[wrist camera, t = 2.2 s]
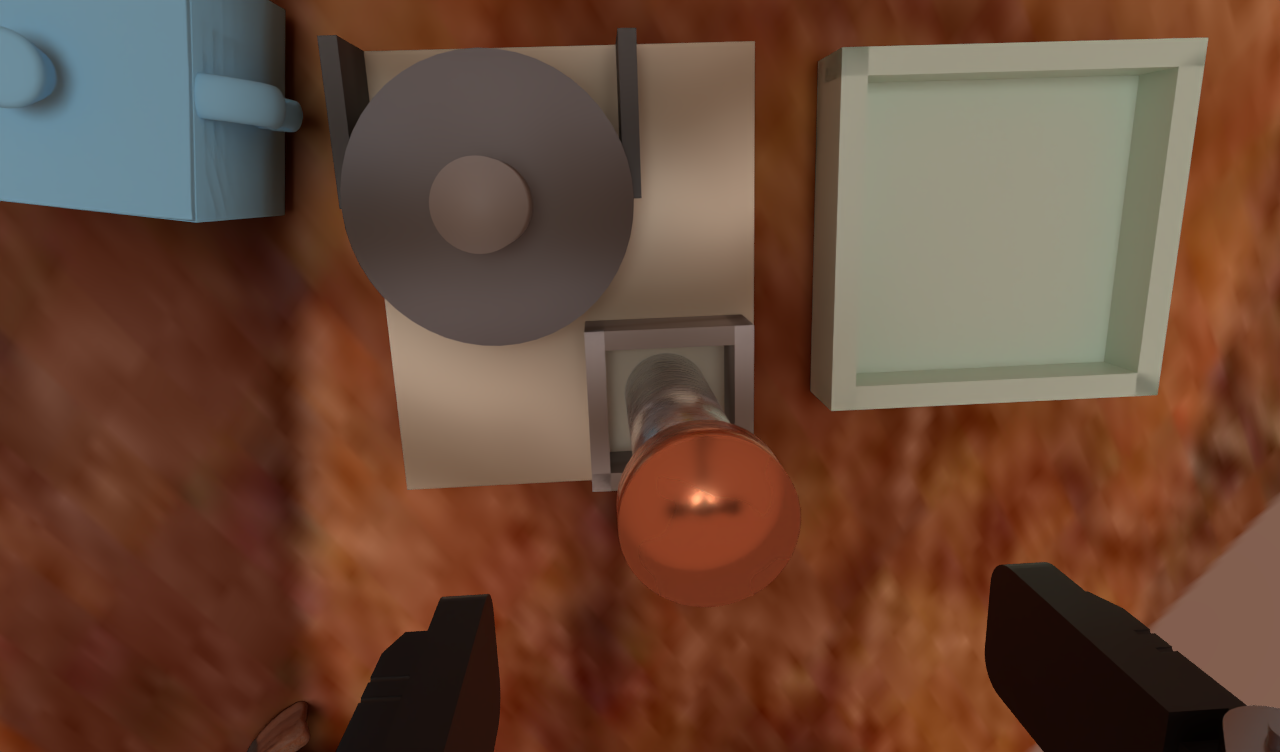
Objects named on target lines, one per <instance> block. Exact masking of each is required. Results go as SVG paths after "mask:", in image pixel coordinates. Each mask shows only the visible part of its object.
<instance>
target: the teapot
mask: <svg viewBox="0 0 1280 752" xmlns="http://www.w3.org/2000/svg"><path fill="white" fill-rule="evenodd" d="M302 120H303V111H302V108H301V106H300V104H299V103H298V102H297V101H294V100H290V99H286V98H285V9H283V8H281V7H279V6H278V5H276V4H274V3H272V2H271V1H269V0H0V201H8V202H17V203H26V204H35V205H44V206H53V207H62V208H71V209H80V210H89V211H98V212H107V213H116V214H125V215H133V216H142V217H151V218H160V219H169V220H178V221H187V222H196V223H198V222H210V221H222V220H233V219H245V218H257V217H269V216H281V215H285V132H296V131H297V130H298V129H299V128H300V127H301V124H302Z"/></svg>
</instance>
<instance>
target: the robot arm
mask: <svg viewBox="0 0 1280 752" xmlns="http://www.w3.org/2000/svg"><path fill="white" fill-rule="evenodd" d="M985 662H986V668H987V672H988V675H989V678H990V681H991V683H992V686H993V688H994V689H995V691H996V693H997V694H998V695H999V697H1000V698H1001V699H1002V700H1003V702H1004V703H1005V704H1006V705H1007V707H1008V708H1009V709H1010V710H1011V712H1012V713H1013V714H1014V715H1015V717H1016V718H1017V719H1018V720H1019V722H1020V723H1021V724H1022V725H1023V727H1024V728H1025V729H1026V730H1027V732H1028V733H1029V734H1030V735H1031V737H1032V738H1033V739H1034V740H1035V742H1036V743H1037V744H1038V745H1039V747H1040V748H1041V749H1042V750H1043V751H1044V752H1280V709H1279V708H1274V707H1267V706H1255V705H1253V706H1247V705H1245V704H1244V703H1243V702H1242V701H1240V700H1239V699H1238V698H1237V697H1235V696H1234V695H1233V694H1232V693H1230V692H1229V691H1228V690H1226V689H1225V688H1224V687H1223V686H1221V685H1220V684H1219V683H1217V682H1216V681H1215V680H1214V679H1212V678H1211V677H1210V676H1208V675H1207V674H1206V673H1204V672H1203V671H1202V670H1201V669H1200V668H1198V667H1197V666H1196V665H1195V664H1193V663H1192V662H1191V661H1189V660H1188V659H1187V658H1186V657H1184V656H1183V655H1182V654H1181V653H1179V652H1178V651H1173V650H1172V646H1170V645H1169V644H1168V643H1167V642H1165V641H1164V640H1163V639H1161V638H1160V637H1159V636H1158V635H1156V634H1155V633H1154V634H1151V633H1150V629H1149V628H1147V627H1146V626H1145V625H1144V624H1142V623H1141V622H1140V621H1139V620H1137V619H1136V618H1135V617H1133V616H1132V615H1131V614H1130V613H1128V612H1127V611H1126V610H1125V609H1123V608H1121V607H1119V606H1117V605H1115V604H1113V603H1111V602H1109V601H1107V600H1104V599H1102V598H1100V597H1098V596H1096V595H1094V594H1092V593H1090V592H1088V591H1087V592H1086V591H1084V590H1083V589H1082V588H1081V587H1079V586H1078V585H1077V584H1076V583H1074V582H1073V581H1072V580H1071V579H1069V578H1068V577H1067V576H1066V575H1065V574H1063V573H1062V572H1061V571H1060V570H1058V569H1057V568H1056V567H1055V566H1053V565H1052V564H1050V563H1047V562H1040V563H1023V564H1006V565H999V566H997V567H996V568H995V569H994V571H993V573H992V577H991V585H990V596H989V608H988V619H987V631H986V642H985ZM499 715H500V678H499V667H498V656H497V645H496V634H495V623H494V612H493V604H492V599H491V596H490V595H489V594H483V595H466V596H449V597H442V598H441V599H440V601H439V603H438V606H437V608H436V611H435V613H434V616H433V618H432V621H431V623H430V626H429V629H428V631H416V632H405V633H404V634H403V635H402V636H401V637H400V638H399V639H397V640H396V641H395V642H394V643H393V644H392V645H391V646H390V647H389V648H388V649H386V650H385V651H384V652H383V653H382V655H381V657H380V659H379V661H378V663H377V665H376V667H375V669H374V672H373V674H372V676H371V681H370V683H368V684H367V686H366V689H365V691H364V693H363V695H362V697H361V703H358V706H357V708H356V710H355V712H354V714H353V716H352V718H351V720H350V723H349V725H348V727H347V729H346V731H345V733H344V735H343V737H342V740H341V742H340V744H339V746H338V748H337V750H336V752H494V746H495V741H496V736H497V730H498V725H499Z"/></svg>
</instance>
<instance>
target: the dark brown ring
mask: <svg viewBox="0 0 1280 752" xmlns="http://www.w3.org/2000/svg"><path fill="white" fill-rule="evenodd" d="M307 708H308V706H307V703H306V702H305V701H300V702H297V703H295V704H294V705H292V706H291V707H289V708H287V709H286V710H284V711H283V712H281V713H280V714H279V715H278V716H277V717H276V718H275V719H273V720H272V721H271V722H270V723H269V724H268V725H267V726H266V727H265V728H264V729H263V731H261V733H260V734H259V735H258V737H257V738H256V739H255V740H254V741H253V742H252V744H251V745H250V747H249V749H248V751H247V752H296V751H298V750H299V749H300V748H302V747H303V746H305V745H306V744H307V743H308V742H309V740H310V733H309V728H308V725H307V723H306V718H307Z"/></svg>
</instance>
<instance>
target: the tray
mask: <svg viewBox="0 0 1280 752" xmlns="http://www.w3.org/2000/svg"><path fill="white" fill-rule="evenodd" d="M1207 44H1208V38H1173V39H1136V40H1098V41H1060V42H1023V43H985V44H948V45H910V46H872V47H842V48H840V49H839V50H837V51H835V52H833V53H832V54H830V55H828V56H827V57H825V58H823V59H821V60H820V61H818V82H817V125H816V168H815V210H814V253H813V296H812V339H811V381H810V391H811V392H812V393H813V394H814V395H815V396H816V397H817V398H818V399H819V400H820V401H821V402H822V403H823V404H824V405H825V406H826V407H827V408H829V409H830V410H831V411H842V410H863V409H883V408H903V407H924V406H944V405H964V404H985V403H1005V402H1025V401H1045V400H1066V399H1086V398H1106V397H1127V396H1147V395H1157V394H1158V387H1159V380H1160V373H1161V366H1162V359H1163V352H1164V345H1165V338H1166V331H1167V324H1168V317H1169V310H1170V303H1171V296H1172V289H1173V282H1174V275H1175V268H1176V261H1177V254H1178V247H1179V240H1180V233H1181V226H1182V219H1183V212H1184V205H1185V198H1186V191H1187V184H1188V177H1189V170H1190V163H1191V156H1192V149H1193V142H1194V135H1195V128H1196V121H1197V114H1198V107H1199V100H1200V93H1201V86H1202V79H1203V72H1204V65H1205V58H1206V51H1207Z"/></svg>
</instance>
